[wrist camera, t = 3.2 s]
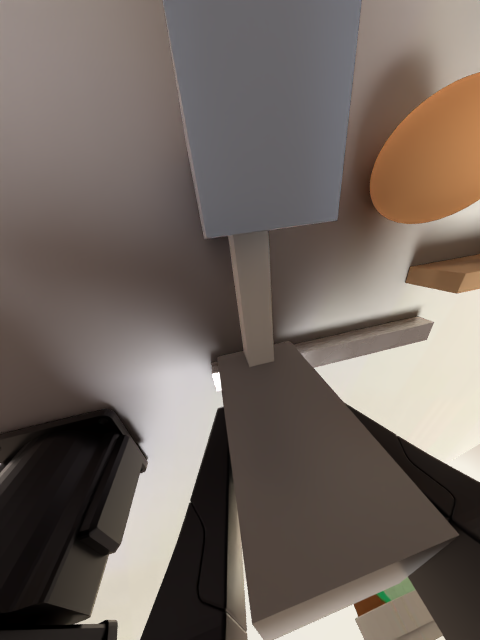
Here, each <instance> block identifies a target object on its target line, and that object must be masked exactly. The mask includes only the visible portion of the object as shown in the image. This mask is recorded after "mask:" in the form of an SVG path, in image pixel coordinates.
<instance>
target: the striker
mask: <svg viewBox="0 0 480 640" xmlns="http://www.w3.org/2000/svg"><path fill="white" fill-rule="evenodd" d="M361 2H362V0H163V6H164V12H165V18H166V24H167V30H168V36H169V42H170V49H171V55H172V61H173V67H174V73H175V79H176V85H177V91H178V97H179V103H180V110H181V116H182V122H183V128H184V134H185V140H186V146H187V152H188V157H189V162H190V167H191V172H192V178H193V183H194V188H195V193H196V198H197V204H198V209H199V214H200V219H201V225H202V230H203V235H204V239H210V238H217V237H225V236H228V239H229V246H230V254H231V261H232V268H233V276H234V283H235V290H236V298H237V305H238V313H239V320H240V327H241V335H242V342H243V349H244V351H241V352H236V353H232V354H227V355H223V356H218V357H217V359H218V366H219V374H220V382H221V389H222V397H223V405H224V412H225V420H226V427H227V435H228V443H229V450H230V458H231V465H232V473H233V481H234V488H235V496H236V504H237V511H238V519H239V526H240V534H241V542H242V549H243V557H244V565H245V572H246V580H247V587H248V595H249V602H250V610H251V618H252V624H253V626H254V627H255V628H256V630H257V631H258V632H259V634H260V635H261V637H262V638H263V640H274V639H276V638H279V637H281V636H283V635H285V634H288V633H290V632H292V631H294V630H297V629H299V628H301V627H303V626H305V625H308V624H310V623H312V622H314V621H317V620H319V619H321V618H323V617H326V616H328V615H330V614H332V613H334V612H337V611H339V610H341V609H343V608H346V607H348V606H350V605H352V604H355V603H357V602H359V601H361V600H364V599H366V598H368V597H370V596H372V595H375V594H377V593H379V592H381V591H384V590H386V589H388V588H390V587H393V586H395V585H397V584H399V583H400V582H402V581H403V580H404V579H405V578H407V577H408V576H409V575H410V574H412V573H413V572H414V571H415V570H417V569H418V568H419V567H420V566H422V565H423V564H424V563H425V562H427V561H428V560H429V559H430V558H432V557H433V556H434V555H435V554H437V553H438V552H439V551H440V550H441V549H443V548H444V547H445V546H446V545H448V544H449V543H450V542H451V541H453V540H454V539H455V538H456V537H458V536H459V534H458V533H457V531H456V530H455V529H454V528H453V527H452V526H451V525H450V523H449V522H448V521H447V520H446V519H445V518H444V517H443V515H442V514H441V513H440V512H439V511H438V510H437V509H436V507H435V506H434V505H433V504H432V503H431V502H430V501H429V499H428V498H427V497H426V496H425V495H424V494H423V493H422V491H421V490H420V489H419V488H418V487H417V486H416V485H415V483H414V482H413V481H412V480H411V479H410V478H409V477H408V475H407V474H406V473H405V472H404V471H403V470H402V469H401V467H400V466H399V465H398V464H397V463H396V462H395V461H394V459H393V458H392V457H391V456H390V455H389V454H388V453H387V451H386V450H385V449H384V448H383V447H382V446H381V445H380V443H379V442H378V441H377V440H376V439H375V438H374V437H373V435H372V434H371V433H370V432H369V431H368V430H367V429H366V427H365V426H364V425H363V424H362V423H361V422H360V421H359V419H358V418H357V417H356V416H355V415H354V414H353V413H352V411H351V410H350V409H349V408H348V407H347V406H346V405H345V403H344V402H343V401H342V400H341V399H340V398H339V397H338V395H337V394H336V393H335V392H334V391H333V390H332V389H331V387H330V386H329V385H328V384H327V383H326V382H325V381H324V379H323V378H322V377H321V376H320V375H319V374H318V373H317V371H316V370H315V369H314V368H313V367H312V366H311V365H310V363H309V362H308V361H307V360H306V359H305V358H304V357H303V355H302V354H301V353H300V352H299V351H298V350H297V349H296V347H295V346H294V345H293V344H292V343H291V342H290V341H286V342H282V343H277V344H273V322H272V299H271V275H270V252H269V231H270V230H276V229H283V228H290V227H296V226H303V225H310V224H317V223H323V222H330V221H337V220H338V211H339V202H340V193H341V183H342V174H343V165H344V156H345V147H346V138H347V129H348V120H349V111H350V102H351V93H352V84H353V75H354V65H355V56H356V47H357V38H358V29H359V20H360V11H361Z"/></svg>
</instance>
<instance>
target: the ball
mask: <svg viewBox="0 0 480 640" xmlns="http://www.w3.org/2000/svg"><path fill="white" fill-rule="evenodd" d="M370 195H371V199H372V202H373V205H374V207H375V208H376V209H377V211H378V212H379V213H380V214H381V215H382V216H384V217H385V218H387V219H389V220H392V221H394V222H397V223H404V224H419V223H426V222H430V221H434V220H438V219H441V218H444V217H447V216H449V215H452V214H454V213H456V212H458V211H460V210H462V209H464V208H466V207H468V206H470V205H471V204H473V203H475V202H476V201H478V200H479V199H480V72H479V73H476V74H473V75H470V76H467V77H465V78H462V79H460V80H457V81H455V82H454V83H452V84H450V85H448V86H446V87H444V88H443V89H441V90H439V91H438V92H436V93H435V94H433V95H432V96H430V97H429V98H428V99H426V100H425V101H424V102H422V103H421V104H420V105H419V106H418V107H416V108H415V109H414V110H413V111H412V112H411V113H410V114H409V115H408V116H407V117H406V118H405V119H404V120H403V121H402V122H401V123H400V124H399V125H398V126H397V128H396V129H395V130H394V131H393V133H392V134H391V135H390V137H389V138H388V140H387V141H386V143H385V144H384V146H383V148H382V149H381V151H380V153H379V155H378V157H377V159H376V162H375V164H374V167H373V170H372V174H371V179H370Z"/></svg>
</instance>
